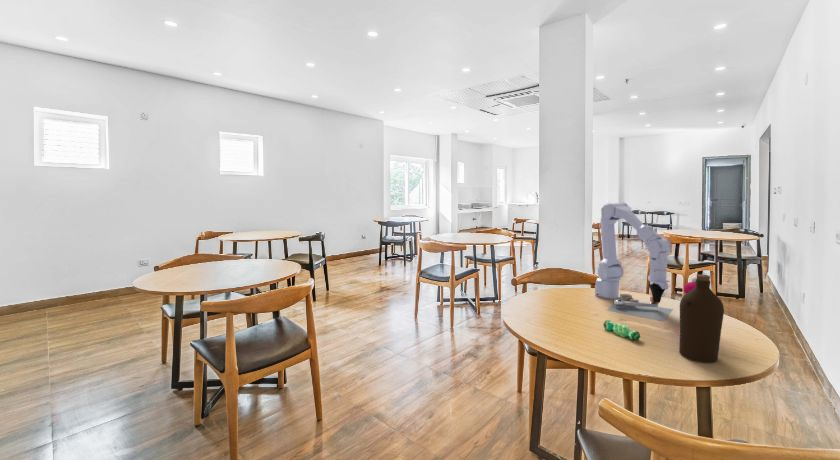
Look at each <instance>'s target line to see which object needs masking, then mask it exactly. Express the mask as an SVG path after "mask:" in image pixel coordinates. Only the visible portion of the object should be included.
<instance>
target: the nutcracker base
mask: <svg viewBox="0 0 840 460" xmlns="http://www.w3.org/2000/svg"><path fill="white" fill-rule="evenodd" d="M626 297H632V298H633V295H632V294H630V293H619V299H622V300H624V301H625V298H626ZM673 310H674V309H673V308H668V307H663V306H662V307H661V306H658V307H646V306H626V305H625V306H617V305H614V304H613V305H611V306H610V307H608V308H607V309H606V311H607V312H612V313H613V312H614V313H618V314H623V315H629V316H633V317H637V318H638V317H639V318H643V319H644V318H645V319H649V320H655V321H660V322H665V321H666V319H667V318H668V317H669V316H670V314H671V313H672V311H673Z"/></svg>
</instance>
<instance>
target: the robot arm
mask: <svg viewBox="0 0 840 460" xmlns="http://www.w3.org/2000/svg"><path fill="white" fill-rule="evenodd" d="M600 212H601V213H600V214H601V216H600V217H601V218H600V232H601V244H602V256H603V257H602V259H601V260H600V262H599V263H598V270H597V276H598V277H599V278H596V281H595V283H594V284H595V285H594V287H595V288H594V296H595V297H599V298H600V297H601V298H605V299H611V300H612V299H613V300H615V299H619V297H620V291H619V289H620V281H621V278H622V277H623V276H624V273H625V272H624V268H623V266H622V262H621V260H619V259H618V257H617V246H616V245H617V244H616V230H615V224H616V223H617V222H618V221H619V220H621V219H622V220H624V221H625V222H627V223H628V224H629V225H630V226H631V227H633V228H634V229H635V230H636V236H638V238H639V239H640V240H642V242H644V243H645V244H646V248H647V251H648V253H649V257H650V258H649V260H650V261H649V275H648V276H647V281H648V282H650V283H649V284H647V285H648V287H649V289H650V293H651V295H652V297H653V302H658V303H659V304H660V303H661V300H662V298H663V294H664V292H665V291H666V290H668V289H669V283H670V282H671V281H670V280H669V279H667V275H668V274H667V271H668V270H667V269H668V256H669V255H668V254H669V252H670V251H671V250H672V248H673V247H672V243H671V241H670V239H669V238H666V237H662V236H661V234H659V233H657V231H655V230H654V227H653V226H652V225H649V224H644V223H643V222H642V221H641V220H640V219H639V218H638V216H637V215H636V214H635V213H634V212H633V211H632V208H631V207H630V206H629V205H628V203H626V202H615V203H614V202H612V203H611V202H607V203H605V204H604V205H603V206H602V207H601V209H600Z"/></svg>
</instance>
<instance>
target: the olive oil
mask: <svg viewBox="0 0 840 460" xmlns="http://www.w3.org/2000/svg"><path fill="white" fill-rule="evenodd" d="M696 278H697V279H696V287H695V288H694V289H692V290H691V291H689V292H688V293H687V294H686V293H685V294H683V296H682V297H681V300H680V303H679V347H678V348H679V350H678V351H679V354H680V355H681V356H682V357H684V358H686V359H688V360H691V361H695V362H700V363H704V364H705V363H706V364H712V363H713V364H714V363H716V362H718V359H719V351H720V344H721V343H720V341H721V335H722V327H723V321H724V314H725V308H724V304H723V301H722V300H721V299H720V297H718V296H717V295H716V294H715V292H713V290H712V289H711V287H710V286H711V280H710V279H711V275H709V274H708V275H707V274H699V273H698V274H696Z"/></svg>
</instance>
